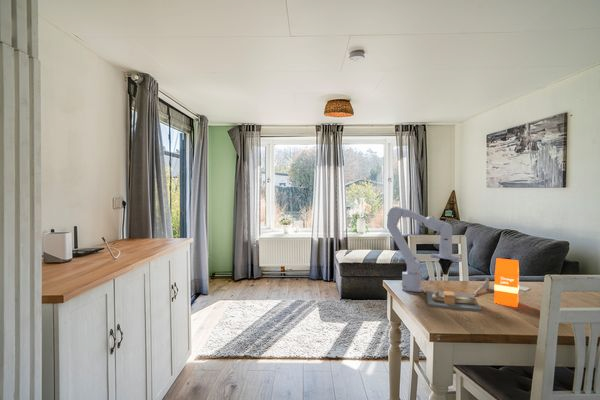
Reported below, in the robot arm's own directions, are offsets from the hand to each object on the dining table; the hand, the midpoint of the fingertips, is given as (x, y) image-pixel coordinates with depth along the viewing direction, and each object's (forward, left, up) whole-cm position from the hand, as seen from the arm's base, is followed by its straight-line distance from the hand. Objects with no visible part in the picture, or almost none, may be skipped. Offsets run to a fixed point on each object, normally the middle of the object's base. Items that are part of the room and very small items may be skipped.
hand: (445, 274), depth 165 cm
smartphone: (+35, +23, -10) cm, 43 cm away
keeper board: (+2, -13, -9) cm, 16 cm away
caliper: (+17, +7, -10) cm, 21 cm away
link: (+2, -17, -8) cm, 19 cm away
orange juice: (+25, -7, -10) cm, 28 cm away
